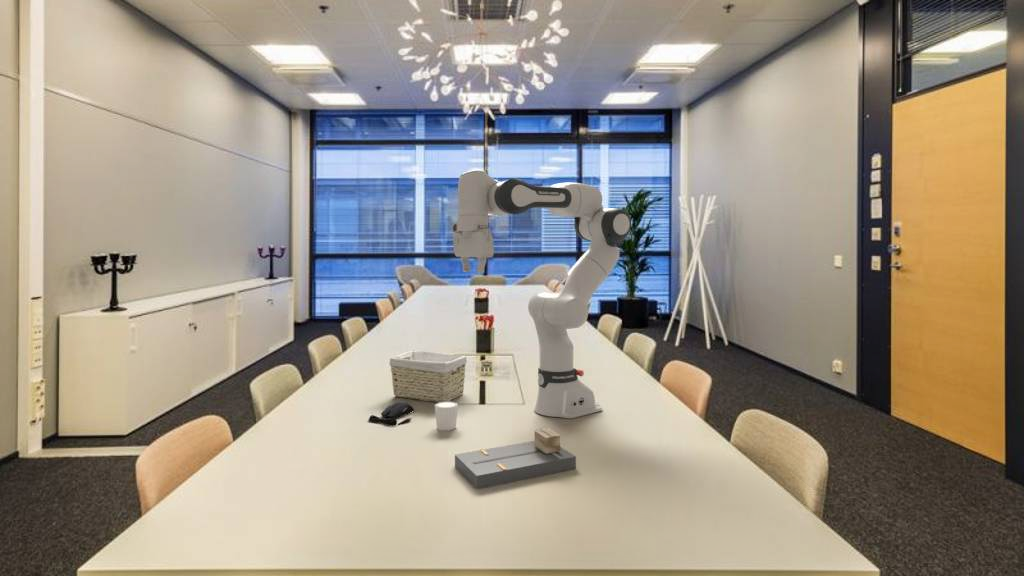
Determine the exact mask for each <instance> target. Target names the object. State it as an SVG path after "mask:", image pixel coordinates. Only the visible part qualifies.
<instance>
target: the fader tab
mask: <svg viewBox="0 0 1024 576" xmlns="http://www.w3.org/2000/svg"><path fill="white" fill-rule="evenodd" d="M533 441H534V446H535V447H537V448H538V449H540V450H541V451H543V452H544V453H546V454H548V453H553V452H559V451H560V447H561V435H560V434H559V433H558V432H555V431H553V430H552V429H550V428H540V429H536V430H534V439H533Z"/></svg>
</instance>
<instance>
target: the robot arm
mask: <svg viewBox="0 0 1024 576" xmlns="http://www.w3.org/2000/svg"><path fill="white" fill-rule="evenodd" d="M457 184H458V185H457V203H458V213H457V219H456V221H455V222H454V224H452V227H451V231H452V232H451V233H453V238H452V239H453V240H452V241H453V253H454V255H455V257H456V258H457V257H459V258H460V261H461V264H462V271H463V272H464V273H470V272H471V265H470V262H469V261H470V258H477V261H478V264H477V267H476V273H477V274H485V266H486V264H487V258H493V257H494V254H495V247H494V239H493V238H494V236H493V234H492V232H491V229H490V227H489V216H488V215H493V216H503V215H504V216H506V215H520V214H523V213H525V212H527V211H528V210H531V209H536V208H537V209H547V210H548V212H549V213H550V214H551V215H552V216H557V217H561V218H574V221H573V223H574V224H573V226H574V231H575V234H576V235H577V236H578V237H579V238H580V239H582V240H584V241H588V242H590V243H589V246H588V248H587V249H586V251H585V252H584V253H583V254H582V255H581V256H580V257H579V258H578V260H577V261H576V262H575V263H574V264H573V266H571V267H570V269H569V270H568V271H567V272H566V274H565V283H564V285H563V287H562V288H561V289H560V290H559V291H558V292H553V291H541V292H538V293H535V294H534V295H533V296H531V298H530V299H529V301H528V306H527V308H528V310H527V311H528V313H529V316H530V317H531V318H532V320H533V322H534V327H535V331H536V334H537V339H538V340H537V341H538V345H539V348H538V349H539V350H538V351H539V353H538V354H539V367H538V371H537V383H538V392H537V396H536V402H535V406H534V408H533V409H534V412H535V413H536V414H538V415H541V416H546V417H553V418H564V419H574V418H579V417H581V416H582V417H583V416H587V415H590V414H594V413H598V412H601V411H602V410H603V407H602V406H601V404H599V403H597V402H596V399H595V394H594V391H593V390H592V389H591V388H590V387H588V385H586V384H585V383H583V382H582V381H581V380H580V379H579V378H578V376H579V377H583V376H584V375H585V372H584V370H582V369H576V368H574V344H573V342H572V340H571V339H570V336H569V334H568V332H567V330H571V329H578V328H580V327H582V326H583V325H585V323H586V322H587V320H588V316H589V308H588V305H589V303H590V300H591V298H592V296H593V295H594V294H595V292H596V291H597V290H598V288H599V287H600V286H601V285H602V284H603V282H604V281H605V280H606V279H607V278H608V276H610V274H611V272H612V271H613V269H614V268H615V266H616V265H617V263H618V262H619V259H620V251H619V248H618V247H619V246H622V244H623V243H624V242H625V239H626V238H627V237H628V235H629V233H630V230H631V227H632V226H631V225H632V221H631V217H630V215H629V213H628V212H626V210H623V209H620V208H617V207H612V208H611V207H604V206H603V195H602V192H601V191H600V189H599V188H598V187H596V186H594V185H590V184H585V183H581V182H560V183H555V184H551V185H550V186H539V185H538V186H537V185H533V184H530V183H528V182H526V181H525V180H523V179H520V178H515V177H513V178H510V179H506V180H504V181H498V180H497V179H495V178H493V177H492V176H490V175H489V174H488V173H487V172H486V171H485V170H484V169H475V170H474V169H473V170H469V171H465V172H463V173H461V174H460V175H459V179H458V183H457Z"/></svg>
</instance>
